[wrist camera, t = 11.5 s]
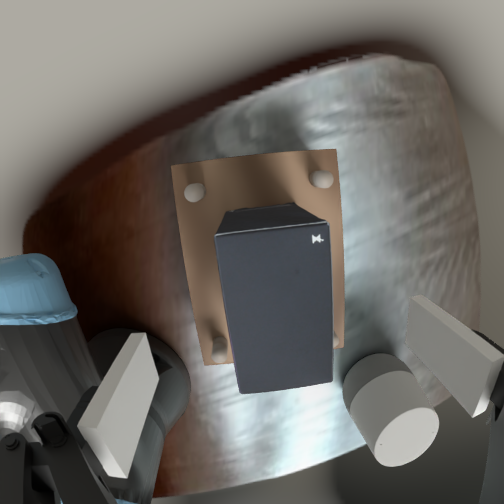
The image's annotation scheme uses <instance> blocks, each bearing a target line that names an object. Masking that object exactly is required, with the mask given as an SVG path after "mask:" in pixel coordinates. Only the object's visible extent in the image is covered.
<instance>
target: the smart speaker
mask: <svg viewBox="0 0 504 504" xmlns="http://www.w3.org/2000/svg"><path fill="white" fill-rule="evenodd" d="M343 399H344V403H345V406H346V408H347V410H348V412H349V414H350V416H351V418H352V419H353V421H354V423H355V424H356V426H357V428H358V429H359V431H360V433H361V434H362V436H363V438H364V439H365V441H366V443H367V445H368V446H369V448H370V449H371V451H372V453H373V455H374V456H375V458H376V459H377V461H378V462H380V463H381V464H383V465H385V466H399V465H403V464H405V463H408V462H410V461H412V460H414V459H416V458H417V457H419V456H420V455H421V454H422V453H423V452H424V451H425V450H426V449H427V448H428V447H429V446H430V445H431V443H432V442H433V440H434V438H435V436H436V434H437V431H438V427H439V419H438V416H437V414H436V412H435V411H434V408H433V407H432V405H431V403H430V401H429V400H428V398H427V396H426V394H425V393H424V391H423V389H422V388H421V386H420V384H419V383H418V381H417V379H416V378H415V376H414V375H413V373H412V372H411V370H410V369H409V368H408V367H407V365H406V364H405V363H404V362H402V361H401V360H400V359H398V358H397V357H395V356H393V355H390V354H385V353H378V354H373V355H369V356H367V357H365V358H363V359H361V360H360V361H358V362H357V363H356V364H355V365H354V366H353V367H352V368H351V369H350V370H349V372H348V373H347V375H346V377H345V380H344V383H343Z"/></svg>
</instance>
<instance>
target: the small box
mask: <svg viewBox="0 0 504 504" xmlns="http://www.w3.org/2000/svg"><path fill="white" fill-rule="evenodd" d="M214 244H215V250H216V257H217V263H218V270H219V277H220V283H221V290H222V296H223V302H224V309H225V315H226V321H227V327H228V332H229V338H230V344H231V350H232V355H233V361H234V366H235V372H236V377H237V382H238V387H239V392H240V393H241V394H251V393H261V392H270V391H279V390H286V389H293V388H300V387H306V386H312V385H317V384H323V383H329V382H332V381H333V355H334V350H333V344H334V309H333V275H332V252H331V236H330V224H329V223H328V222H327V221H326V220H324V219H320V218H318V217H317V216H315V215H313V214H311V213H310V212H308V211H306V210H305V209H303V208H301V207H299V206H298V205H297V204H296V203H294V202H292V203H285V204H282V205H280V204H277V205H272V206H262V207H254V208H241V209H236V210H232V211H226V212H225V215H224V217H223V219H222V221H221V224H220V226H219V228H218V230H217V232H216V234H215V235H214Z"/></svg>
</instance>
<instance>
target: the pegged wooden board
mask: <svg viewBox="0 0 504 504" xmlns="http://www.w3.org/2000/svg"><path fill="white" fill-rule="evenodd" d="M171 171H172V180H173V188H174V196H175V203H176V211H177V218H178V225H179V231H180V238H181V245H182V251H183V257H184V263H185V269H186V275H187V281H188V286H189V292H190V297H191V303H192V308H193V313H194V318H195V323H196V328H197V333H198V338H199V343H200V347H201V352H202V357H203V361H204V366H205V365H218V364H229V363H234V361H233V355H232V350H231V344H230V338H229V332H228V327H227V321H226V315H225V309H224V302H223V296H222V290H221V283H220V277H219V270H218V263H217V257H216V250H215V244H214V235H215V234H216V232H217V230H218V228H219V226H220V224H221V221H222V219H223V217H224V215H225V212H226V211H232V210H236V209H241V208H254V207H262V206H272V205H277V204H280V205H282V204H285V203H292V202H294V203H296V204H297V205H298V206H299V207H301V208H303V209H305V210H306V211H308V212H310V213H311V214H313V215H315V216H317V217H318V218H320V219H324V220H326V221H327V222H328V223H329V224H330V236H331V252H332V275H333V309H334V344H333V349H338V348H343V347H344V315H345V290H344V248H343V226H342V209H341V195H340V183H339V171H338V161H337V151H336V149H323V150H305V151H290V152H277V153H266V154H255V155H246V156H237V157H228V158H220V159H212V160H205V161H198V162H191V163H184V164H178V165H172V166H171Z"/></svg>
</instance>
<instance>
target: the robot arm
mask: <svg viewBox="0 0 504 504" xmlns="http://www.w3.org/2000/svg"><path fill="white" fill-rule="evenodd" d="M77 312H78V311H77V308H76V305H74V304H73V303H72V302H71V299H70V297H69V294H68V292H67V289H66V287H65V284H64V282H63V279H62V276H61V274H60V271H59V269H58V267H57V265H56V264H55V263H54V261H52V260H51V259H50V258H49V257H47V256H45V255H42V254H38V253H32V254H24V255H17V256H11V257H6V258H1V259H0V504H151V500H152V495H153V490H154V486H155V481H156V476H157V472H158V467H159V463H160V458H161V454H162V449H163V445H164V440H165V436H166V435H167V433H168V432H169V431H170V430H171V428H172V427H173V426H174V425H175V423H176V422H177V421H178V419H179V418H180V417H181V416H182V415H183V414H184V412H185V410H186V408H187V405H188V402H189V397H190V391H191V383H190V377H189V374H188V371H187V369H186V367H185V365H184V364H183V362H182V361H181V359H180V358H179V357H178V355H177V354H176V353H175V352H174V351H173V350H172V349H171V348H169V347H168V346H167V345H166V344H164V343H163V342H162V341H160V340H158V339H157V338H155V337H153V336H151V335H149V334H146V333H144V332H141V331H137V330H133V329H127V328H114V329H109V330H105V331H103V332H100V333H99V334H97V335H96V336H94V337H93V338H92V339H91V340H90V341H89V343H87V341H86V338H85V336H84V334H83V331H82V329H81V326H80V324H79V321H78V319H77V316H76V315H77ZM405 344H406V345H407V346H408V347H409V348H410V349H411V351H412V352H413V353H414V354H415V355H416V356H417V357H418V358H419V359H420V360H421V361H422V362H423V363H424V364H425V365H426V367H427V368H428V369H429V370H430V371H431V372H432V373H433V374H434V375H435V376H436V377H437V379H438V380H439V381H440V382H441V383H442V384H443V385H444V386H445V387H446V388H447V390H448V391H449V392H450V393H451V394H452V395H453V396H454V397H455V398H456V400H457V401H458V402H459V403H460V404H461V405H462V406H463V407H464V409H465V410H466V411H467V412H468V413H469V414H470V416H471V417H474V416H477V415H479V414H480V413H482V412H484V411H485V410H486V408H487V405H488V403H489V401H490V400H491V401H492V402H493V403H494V406H493V408H492V411H491V413H490V415H489V417H488V419H487V422H486V424H488V423H489V421H490V420H491V430H490V440H489V449H488V458H487V464H486V471H485V477H484V482H483V487H482V492H481V496H480V501H479V504H504V349H502V348H501V347H500V346H498V345H497V344H496V343H495V344H494V342H493V341H492V340H490V339H489V338H488V337H486V336H485V335H484V334H482V333H480V332H478V331H475V330H470V329H469V328H468V327H466V326H465V325H464V324H462V323H461V322H459V321H458V320H457V319H455V318H454V317H453V316H451V315H450V314H448V313H447V312H446V311H444V310H443V309H441V308H440V307H438V306H437V305H436V304H434V303H433V302H431V301H430V300H428V299H427V298H426V297H424V296H423V295H418V296H414V297H410V300H409V312H408V322H407V331H406V339H405Z"/></svg>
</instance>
